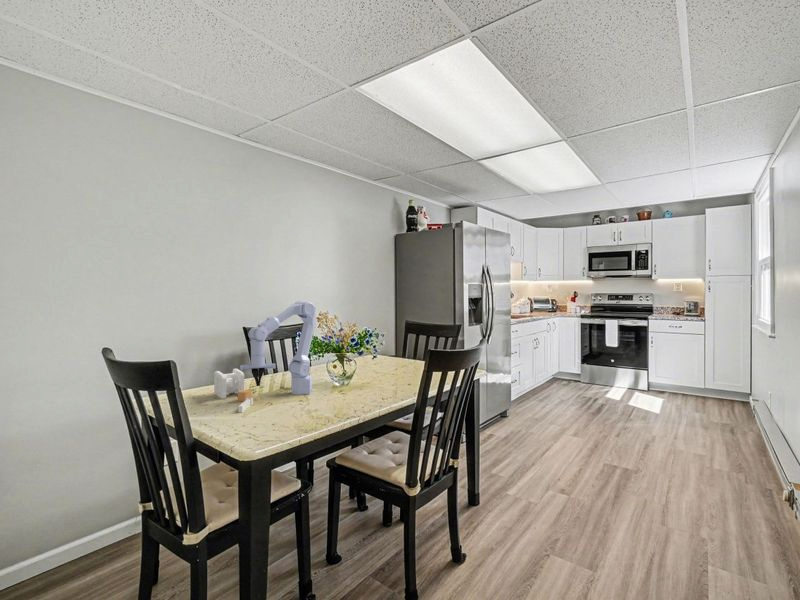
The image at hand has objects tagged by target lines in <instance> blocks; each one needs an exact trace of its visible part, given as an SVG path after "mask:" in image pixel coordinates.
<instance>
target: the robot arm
mask: <svg viewBox="0 0 800 600" xmlns="http://www.w3.org/2000/svg"><path fill="white" fill-rule="evenodd" d="M316 310H317V309H316V306H315V305H314V303H312V301H300V300H297V301H295V302H294V303H292V304H290V306H288V307H287V308H286V309H285V310H283V311H282V312H281V313H279V314H278V315H277V316H275V317H274V316H269V317H266V320H264V321H263V322H261V323H258V324H257V326H253V327H251V328H250V330H249V332H248V333H247V336H248V338H249V340H250V364H240V366H239V370H240V371H243V370H244V371H245V370H246V371H247V370H251V371H250V372H251V374H252V376H253V379H254V380H255V385H256V387H260V386H261V382H262V381H261V380H262V378H263V375H264V372H265V370H268V369H276V363H275V362H274V363H267V362H266V352H265V351H266V349H265V348H266V347H265V346H266V343H265V342H266V341H265V340H266V339H267V338H268V335H270V334H272V333H273V332H274V331H276V330H277V329H278V328H280V325H281V323H282V322H284V321H286V320H288V319H289V318H291V317H292V316H295V315H297V316H298V317H299V318H300V319H301V320H302V322H303V324H302V328H301V333H300V338H299V342H298V345H297V350H296V353H295V355H294V356H293V357H292V360H291V361H290V363H289V364H288V371H289V373H290V375H291V382H290V383H291V392H290V393H291V394H292V395H300V396H301V395H312V392H313V377H312V375H309V374H310V372H311V365H310V364H311V361H310V358H309V353H310V349H311V345H312V340H313V336H314V332H315V327H316V324H317V316H316Z"/></svg>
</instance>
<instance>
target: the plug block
mask: <svg viewBox="0 0 800 600" xmlns="http://www.w3.org/2000/svg"><path fill="white" fill-rule="evenodd" d="M247 398H252V390H249V389H244V390H242V391H239V392H238V394H237V402H242V403H243V402H244V401H245V400H246V399H247Z"/></svg>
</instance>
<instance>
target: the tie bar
mask: <svg viewBox="0 0 800 600" xmlns="http://www.w3.org/2000/svg"><path fill="white" fill-rule="evenodd" d="M252 405H254V398H253V397H251V398H247V399H246V400H245V401H244V402H243V401H242V402H241V403H240V404H239V405H238V409H237V410H238V412H237V413H244V412H245V411H246V410H247V409H248V408H249V407H250V406H252Z"/></svg>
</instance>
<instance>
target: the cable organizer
mask: <svg viewBox="0 0 800 600" xmlns="http://www.w3.org/2000/svg"><path fill="white" fill-rule="evenodd" d="M213 378H214V379H213V382H214V383H213V384H214V386H213V388H214V389H213V390H214V394H215V396H218V397H219V398H220V399H221V400H223V399H224V400H225V399H227V396H228V397H229V395H230V394H234V395H238V392H239V391H242V390H245V373H244V372H243V370H240V369H238V368H233V369H232V372H231V373H223V372H221V371H219V370H216V371H214V372H213Z"/></svg>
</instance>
